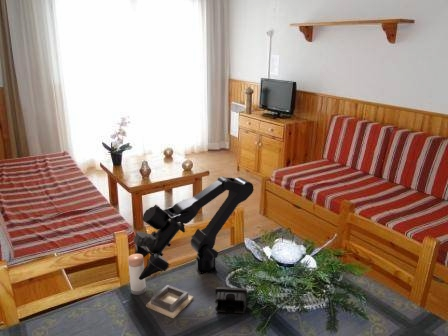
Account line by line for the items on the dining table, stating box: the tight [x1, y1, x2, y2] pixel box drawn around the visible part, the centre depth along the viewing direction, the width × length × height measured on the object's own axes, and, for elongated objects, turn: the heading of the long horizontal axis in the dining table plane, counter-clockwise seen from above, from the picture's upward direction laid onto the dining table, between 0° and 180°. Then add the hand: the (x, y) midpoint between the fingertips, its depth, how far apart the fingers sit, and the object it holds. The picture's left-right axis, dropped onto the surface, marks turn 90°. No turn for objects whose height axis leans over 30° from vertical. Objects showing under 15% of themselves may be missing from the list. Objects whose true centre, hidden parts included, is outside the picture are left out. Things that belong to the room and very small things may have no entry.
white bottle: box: [127, 253, 147, 296], centre depth 128 cm, size 5×5×13 cm
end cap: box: [214, 286, 248, 317], centre depth 121 cm, size 10×7×7 cm
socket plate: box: [145, 284, 194, 319], centre depth 124 cm, size 11×11×3 cm
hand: (135, 272), depth 128 cm, fingers open, 9 cm apart
